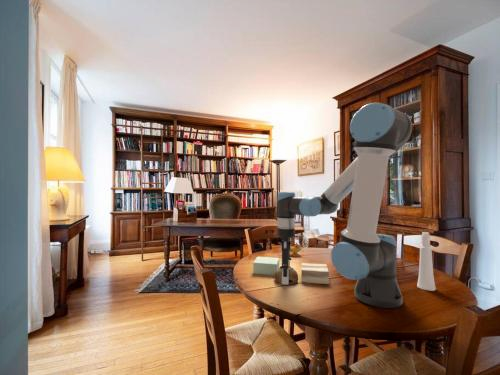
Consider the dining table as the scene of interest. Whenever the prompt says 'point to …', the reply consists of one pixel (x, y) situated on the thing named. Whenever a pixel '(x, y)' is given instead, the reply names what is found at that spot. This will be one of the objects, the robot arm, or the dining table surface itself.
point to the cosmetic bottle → (426, 265)
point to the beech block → (315, 273)
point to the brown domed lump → (292, 275)
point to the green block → (265, 265)
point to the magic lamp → (296, 249)
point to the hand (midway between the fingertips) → (286, 279)
